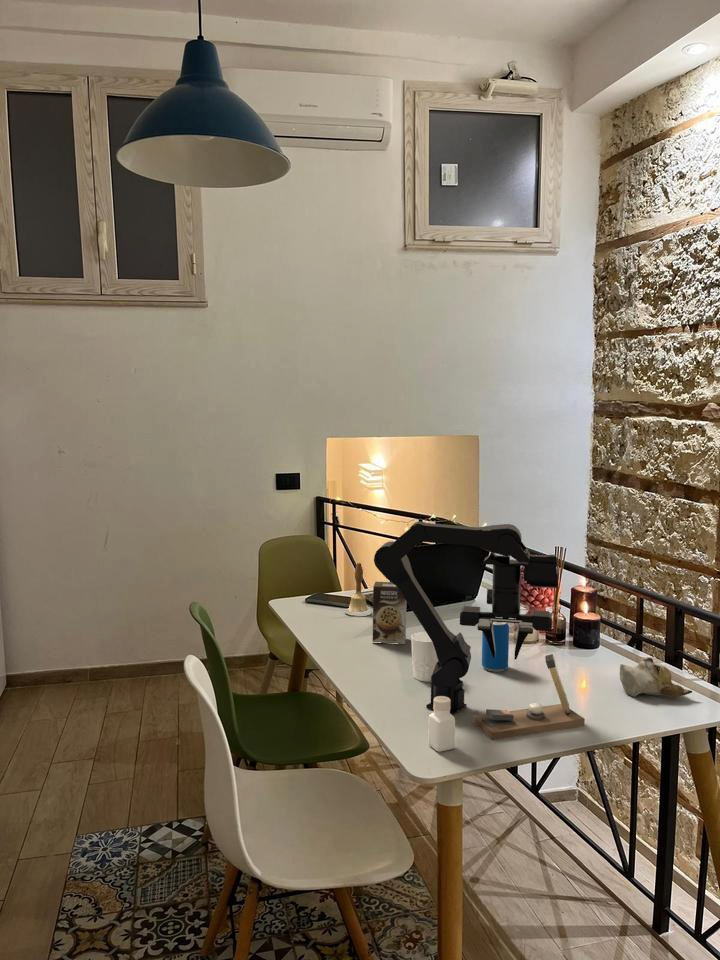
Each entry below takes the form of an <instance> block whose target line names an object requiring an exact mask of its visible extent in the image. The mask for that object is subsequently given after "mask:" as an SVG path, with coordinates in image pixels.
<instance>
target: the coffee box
mask: <svg viewBox="0 0 720 960" xmlns="http://www.w3.org/2000/svg"><path fill="white" fill-rule="evenodd" d="M373 584H374V585H373V586H372V587H373V588H372V589H373V590H372V591H373V594H372V596H373V597H372V601H373V602H372V640H371V641H372V642H381V643H398V644H406V641H405V640H407V634H406V633H407V601H406V600H405V598H404V597H403V595H402V594H401V592H400V591H399V589H398V588H397V587H396V586H395V585H394V584H393V583H392V582H390V581H374V583H373ZM372 642H371V643H372Z"/></svg>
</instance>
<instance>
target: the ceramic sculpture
mask: <svg viewBox="0 0 720 960" xmlns="http://www.w3.org/2000/svg"><path fill="white" fill-rule="evenodd" d="M619 680H620V682H621V685H622V688H623V691H624V693H625V694H626V695H628V696H631V697H634V698H635V697H637V696H638V695H639V694H646V695H649V696H663V695H664V696H667V697H671V698H677V697H684V696H686V695H690V694H692V693H693V690H690V689H686V688H684V687H683V686H681V685H679V684H676V683H673V682H672V673H671V671H670V670H669V668H667V667H666V665H664V664H662V663H660V662H657V661H656V662H655V661H654V660H653V658H651V657H647V658H643V659H641V661H639V663H638V665H635V666H630V665H627V664H623V663H621V664H620V665H619Z"/></svg>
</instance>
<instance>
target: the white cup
mask: <svg viewBox="0 0 720 960" xmlns="http://www.w3.org/2000/svg"><path fill="white" fill-rule="evenodd" d="M410 639H411V643H410V644H411V645H410V646H411V664H412V675H413V678H414V679H415V680H417V681H420V682H427V683H429V682H430V683H431V676H432V673H433V671H434V668H435V665H436V663H437V662H438V658H437V655H436V652H435V648H434V645H433V642H432V641H431V639H430V637H429V636H428V634H427V633H426V631H419V632H415V633H412V634H411V636H410Z"/></svg>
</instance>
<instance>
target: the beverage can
mask: <svg viewBox="0 0 720 960" xmlns="http://www.w3.org/2000/svg"><path fill="white" fill-rule="evenodd" d="M493 631H494V641H495V658H493V656H492V653H491V650H490V647H489V644H488V641H487V639H486V637H485V635H484V633H483V631H482V633H481V634H482V635H481V636H482V637H481V666H482V667H483V668H484V669H485V670H486V671H489V672H495V673H497V672H498V673H499V672H504V671H505V670H506V669H508V667H509V649H510V647H509V646H510V645H509V643H510V625H509V623H505V622H493Z"/></svg>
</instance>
